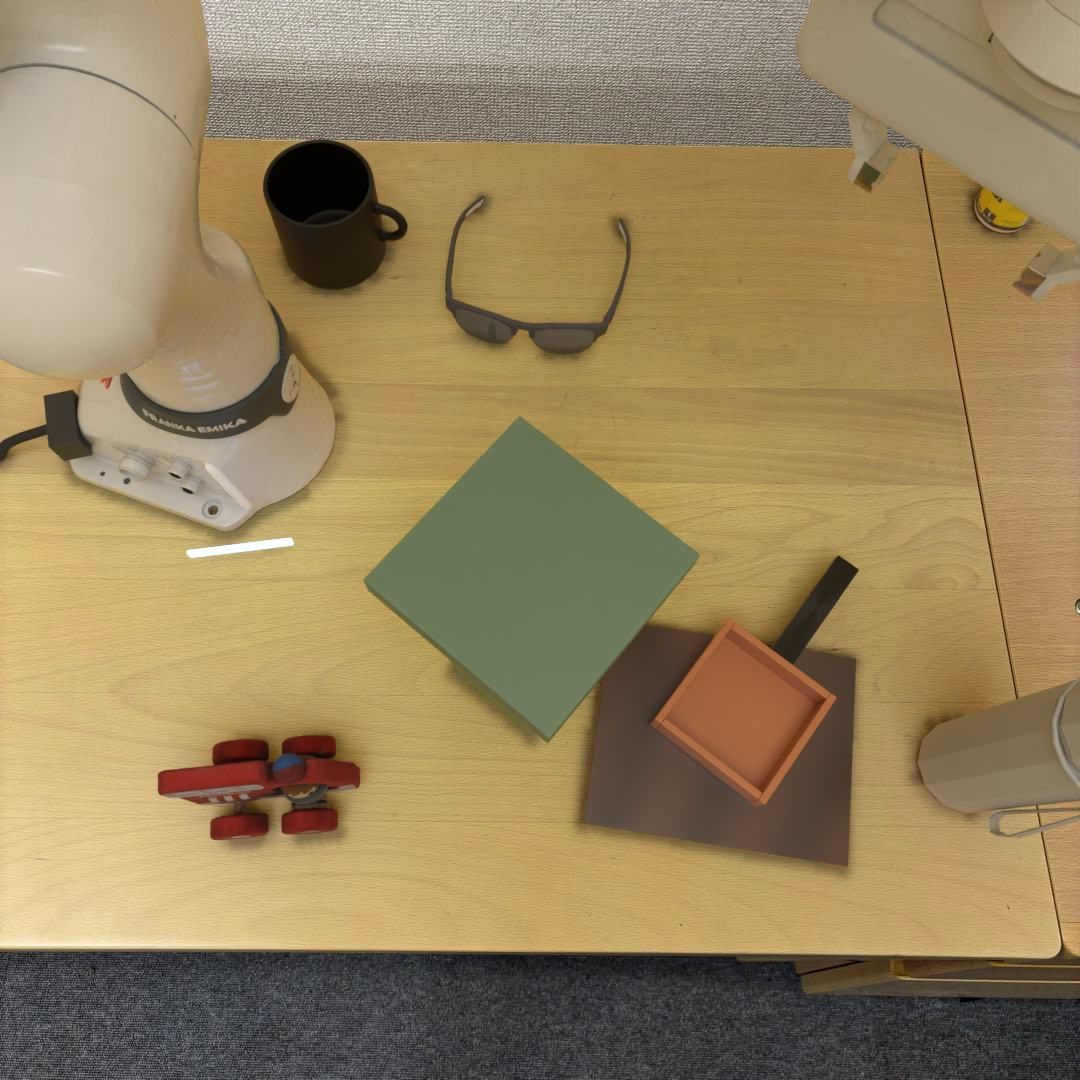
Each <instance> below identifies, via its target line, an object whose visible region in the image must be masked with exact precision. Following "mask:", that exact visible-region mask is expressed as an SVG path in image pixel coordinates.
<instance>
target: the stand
mask: <svg viewBox="0 0 1080 1080" xmlns="http://www.w3.org/2000/svg"><path fill="white" fill-rule="evenodd" d="M700 557H701V554H700V553H699V552H698V551H696V550H695V549H694V548H692V547H691V546H690V545H688V544H687V543H686V542H685V541H683V540H682V539H681V538H679V536H677V535H675V534H674V533H673V532H672V531H670V530H669V529H668V528H666V527H665V525H663V524H661V522H659V521H657V520H656V519H655V518H653V516H651V515H650V514H648V513H647V512H646V511H644V509H642V508H640V507H639V506H638V505H637V504H635V503H634V502H633V501H632V500H631V499H629V498H627V497H626V496H625V495H624V494H622V493H621V492H620V491H618V490H617V489H616V488H615V487H613V486H612V485H611V484H609V483H608V482H607V481H606V480H604V479H603V478H602V477H600V476H599V475H598V474H596V472H594V471H592V470H591V469H590V468H589V467H587V466H586V465H585V464H584V463H582V462H581V461H579V460H578V459H577V458H576V457H574V456H573V455H572V454H570V452H568V451H567V450H565V449H564V448H562V446H560V445H559V444H557V443H556V442H555V441H553V440H552V439H551V438H550V437H549V436H547V435H546V434H544V432H542V431H540V430H539V429H538V428H536V427H535V426H534V425H533V424H531V423H530V422H529V421H527V420H526V419H525V418H524V417H522V416H521V415H519V416H518V417H517V418H516V419H515V420H514V421H513V422H512V423H511V424H510V425H509V426H508V427H507V429H505V431H503V433H502V434H501V435H500V436H499V437H498V438H497V439H496V440H495V441H494V442H493V443H492V444H491V445H490V446H489V447H488V448H487V450H486V451H484V453H482V455H480V456H479V458H478V459H476V461H475V462H474V463H473V464H472V465H471V466H470V467H469V468H468V469H467V470H466V471H465V472H464V473H463V475H461V477H460V478H459V479H458V480H456V482H455V483H454V484H453V485H452V486H451V487H450V488H449V489H448V490H447V491H446V492H445V493H444V494H443V496H442V497H440V499H439V500H438V501H436V503H434V505H433V506H432V507H431V508H430V509H429V510H428V511H427V512H426V513H425V514H424V515H423V517H421V519H420V520H419V521H418V522H417V523H416V524H415V525H414V526H413V527H412V528H411V529H410V530H409V531H408V532H407V533H406V534H405V535H404V536H403V537H402V538H401V539H400V541H398V542H397V543H396V545H395V546H394V547H393V548H392V549H391V550H390V551H389V552H388V553H387V554H386V555H385V556H384V557H383V558H382V559H381V560H380V562H378V563H377V565H376V566H375V567H374V568H373V569H372V570H371V571H370V572H369V573H368V574H367V575H365V577H364V578H363V582H364V585H365V587H366V589H367V590H368V592H369V593H371V594H372V595H373V596H374V597H375V598H376V599H378V601H380V602H381V603H382V604H383V605H384V606H386V607H387V608H388V609H389V610H390V611H392V613H394V615H396V616H397V617H399V618H400V619H401V620H402V621H403V622H405V624H406V625H408V626H409V627H410V628H411V629H412V630H414V632H416V633H418V635H420V636H421V637H422V638H423V639H424V640H426V641H427V642H428V643H429V644H430V645H431V646H433V647H434V648H435V649H436V650H437V651H439V652H440V653H441V654H442V655H443V656H444V657H446V658H447V659H448V660H449V661H450V662H451V663H452V666H453V670H454V672H455V674H457V675H458V676H459V677H460V678H461V679H463V680H464V681H465V682H466V683H467V684H468V685H470V686H471V687H472V688H473V689H474V690H475V691H477V692H478V693H479V694H480V695H482V697H484V698H485V699H486V700H487V701H488V702H490V704H492V705H493V706H494V707H495V708H497V709H498V711H500V712H501V713H502V714H504V715H505V716H506V717H507V718H508V719H509V720H510V721H512V722H513V724H515V725H516V726H517V727H518V728H520V729H521V730H522V731H523V732H525V733H526V734H527V735H528V736H529V737H531V736H532V735H533V734H536V736H538V737H539V738H541V739H542V740H543V742H545V743H546V744H549V743H550V742H551V741H552V739H553V738H554V737H555V735H556V734H557V733H558V732H559V731H560V730H561V728H562V727H563V726H564V725H565V723H566V722H567V721H568V720H569V718H571V716H572V715H573V714H574V712H575V711H576V710H577V709H578V708H579V706H581V704H582V703H583V701H585V700H586V698H587V697H588V695H589V694H590V693H591V692H592V691H593V689H594V688H595V687H596V685H597V684H598V683H600V682H601V678H602V677H603V676H604V675H605V673H606V672H607V671H608V670H609V669H610V667H611V666H612V665H613V664H614V662H615V661H616V660H617V659H618V658H619V656H620V655H621V654H622V653H623V651H624V650H625V649H626V648H627V647H628V645H629V644H630V643H631V642H632V640H633V639H634V638H635V637H636V636H637V634H638V633H639V632H640V631H641V630H642V628H643V627H644V626H645V625H647V624H648V623H649V621H650V620H651V619H652V617H653V616H654V615H655V614H656V612H658V610H659V609H660V608H661V607H662V605H663V604H664V603H665V602H666V600H667V599H668V598H669V597H670V596H671V594H672V593H673V592H674V591H675V589H676V588H677V587H678V586H679V585H680V583H681V582H682V581H683V579H685V577H686V576H687V575H688V573H689V572H691V570H692V569H693V567H694V566H695V565H696V563H697V562H698V560H699V558H700Z"/></svg>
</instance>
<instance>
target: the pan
mask: <svg viewBox="0 0 1080 1080" xmlns="http://www.w3.org/2000/svg"><path fill="white" fill-rule="evenodd" d="M859 571H860V569H859V568H858V567H856V566H855V565H853V564H852V563H850V562H849V561H848V560H846V559H845V558H844V557H843V556H841V555H838V554H837V556H836V557H835V558H833V559H832V561H831V562H830V563H829V565H828V566H827V567H826V569H825V570H824V572H822V575H821V576H820V578H819V579H818V580H817V581H816V583H815V585H814V586H813V587H812V589H811V590H810V591H809V593H808V594H807V595H806V597H805V598H804V600H803V601H802V603H801V604H800V605H799V607H798V608H797V609H796V611H795V613H794V614H793V615H792V617H791V618H790V620H789V621H788V622H787V624H786V625H785V626H784V628H783V629H782V630H781V632H780V634H779V635H778V636H777V638H776V639H775V641H774V642H773V643H772V644H771V645H772V646H771V648H769V647H768V646H766V645H765V644H766V643H764V642H762V641H761V640H760V639H758V638H757V637H756V636H755V635H753V634H752V633H750V632H749V631H747V630H746V629H745V628H744V627H742V626H741V625H739V624H738V623H736V622H735V621H734V620H732V619H731V618H727V619H726V621H725V622H724V623H722V625H721V626H720V627H719V629H718V630H717V632H716V633H715V634H714V635H713V636H714V637H713V638H712V640H711V641H710V642H709V644H708V645H707V646H706V648H705V649H704V650H703V652H702V653H701V654H700V656H699V657H698V659H697V660H696V661H695V663H694V664H693V665H692V667H691V668H690V669H689V671H688V672H687V673H686V675H685V676H684V677H683V679H682V680H681V682H680V683H679V684H678V686H677V687H676V688H675V690H674V691H673V692H672V694H671V695H670V696H669V698H668V699H667V701H666V702H665V703H664V705H663V706H662V707H661V709H660V710H659V711H658V713H657V714H656V715H655V717H654V718H653V719H652V721H651V722H650V724H649V725H650V726H651V727H652V728H654V729H655V730H656V731H657V732H659V733H660V734H661V735H663V736H664V737H665V738H666V739H668V740H669V741H670V742H672V743H673V744H674V745H675V746H677V747H678V748H679V749H681V750H682V751H683V752H684V753H686V754H687V755H688V756H690V757H691V758H692V759H693V760H695V761H696V762H697V763H699V764H700V765H701V766H702V767H704V768H705V769H706V770H708V771H709V772H710V773H711V774H713V775H714V776H715V777H717V778H718V779H719V780H720V781H722V782H723V783H724V784H726V785H727V786H728V787H729V788H731V789H732V790H733V791H735V792H736V793H737V794H738V795H740V796H741V797H742V798H744V799H745V800H746V801H747V802H749V803H750V804H751V805H753V806H754V807H757V806H761V805H765V804H766V803H767V802H768V800H769V799H770V797H771V796H772V794H773V793H774V791H775V790H776V788H777V787H778V785H779V784H780V782H781V781H782V779H783V778H784V776H785V775H786V773H787V772H788V770H789V769H790V767H791V766H792V764H793V763H794V761H795V760H796V758H797V757H798V755H799V754H800V752H801V751H802V749H803V748H804V746H805V745H806V744H807V742H808V741H809V739H810V738H811V736H812V735H813V733H814V732H815V730H816V729H817V727H818V726H819V724H820V723H821V721H822V720H823V718H824V717H825V715H826V714H827V712H828V711H829V709H830V708H831V706H832V705H833V703H834V702H835V700H836V699H837V697H835V696H834V695H833V694H831V693H830V692H829V691H827V690H826V689H825V688H823V687H822V686H821V685H819V684H818V683H817V682H815V681H814V680H812V679H811V678H810V677H808V676H807V675H806V674H804V673H803V672H802V671H800V670H799V669H798V668H796V667H795V666H793V664H794V663H795V661H796V660H797V658H798V657H799V656H800V654H801V653H802V651H803V650H805V649H806V647H807V646H808V644H809V642H810V641H811V640H812V639H813V637H814V636H815V634H816V633H817V631H818V630H819V629H820V627H821V626H822V625H823V623H824V621H825V620H826V618H827V617H828V615H829V614H830V613H831V611H832V610H833V608H834V607H835V606H836V604H837V603H838V601H839V600H840V598H841V597H842V596H843V594H844V593H845V591H846V590H847V588H848V587H849V585H850V584H851V583H852V582H853V580H854V578H855V577H856V576H857V574H858V573H859Z"/></svg>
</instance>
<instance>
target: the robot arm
mask: <svg viewBox="0 0 1080 1080" xmlns="http://www.w3.org/2000/svg"><path fill="white" fill-rule="evenodd" d="M205 20H206V19H205V14H204V9H203V4H202V2H201V0H0V360H2V361H3V362H5V363H7V364H9V365H11V366H13V367H15V368H17V369H20V370H22V371H25V372H28V373H30V374H32V375H37V376H40V377H44V378H48V379H53V380H59V381H72V382H82V383H81V386H80V391H79V394H77V392H76V391H75V390H73V389H69V390H64V391H59V392H55V393H54V392H53V393H48V394H44V395H43V402H44V416H45V424H42V425H39V426H36V427H32V428H30V429H25V430H23V431H20V432H17V433H15V434H13V435H10V436H8V437H6V438H4V439H3V440H1V441H0V462H1V461H3V460H5V459H6V458H7V456H8V454H9V451H10V450H11V449H12V448H14V447H16V446H18V445H21V444H23V443H25V442H28V441H31V440H36V439H38V438H41V437H44V436H47V444H48V445H47V446H48V448H49V449H50V450H51V451H52V452H53V453H54V454H55V455H57V457H59V458H60V459H61V460H62V461H64V462H68V461H69V464H70V466H71V470H72V472H73V473H74V475H75V476H76V477H77V478H78V479H80V480H82V481H83V482H87V483H89V484H91V485H94V486H97V487H100V488H103V489H104V490H108V491H111V492H113V493H116V494H119V495H122V496H124V497H127V498H129V499H133V500H135V501H138V502H141V503H144V504H147V505H149V506H152V507H154V508H157V509H159V510H163V511H166V512H168V513H171V514H173V515H176V516H179V517H181V518H185V519H187V520H191V521H193V522H195V523H198V524H201V525H204V526H207V527H209V528H211V529H214V530H218V531H221V532H225V533H226V532H232V531H235V530H237V529H239V528H240V527H241V526H243V525H244V524H245V523H247V521H248V520H250V519H251V518H252V517H253V516H254V515H255V514H256V513H257V512H259V510H262V509H264V508H265V507H268V506H270V505H273V504H276V503H279V502H280V501H283V500H285V499H287V498H290V497H291V496H293V495H294V494H296V493H297V492H299V491H300V490H302V489H303V488H305V487H306V486H307V485H308V484H310V483H311V482H312V481H313V479H315V477H316V476H317V475H318V474H319V473H320V471H321V470H322V469H323V467H324V465H325V464H326V462H327V460H328V459H329V457H330V454H331V451H332V449H333V446H334V443H335V439H336V428H337V427H336V426H337V425H336V424H337V423H336V415H335V410H334V407H333V404H332V402H331V398H330V397H329V395H328V393H327V391H326V390H325V389H324V387H323V386H322V385H321V384H320V383H319V381H317V379H316V378H315V377H313V376H312V375H311V374H310V372H309V371H308V369H306V367H305V366H304V365H303V364H302V363H301V361H300V360H299V358H298V356H297V354H296V350H295V348H294V345H293V342H292V340H291V337H290V335H289V332H288V330H287V327H286V326H285V324H284V322H283V320H282V318H281V316H280V314H279V312H278V310H277V309H276V307H275V306H274V305H273V304H272V302H270V301H271V300H269V299H267V296H266V294H265V291H264V289H263V287H262V284H261V282H260V279H259V277H258V275H257V272H256V270H255V268H254V266H253V263H252V260H251V258H250V256H249V254H248V252H247V251H246V250H245V248H244V247H243V246H242V244H241V243H239V241H238V240H237V239H235V238H234V237H233V236H232V235H231V234H230V233H228V232H227V231H225V230H223V229H222V228H220V227H217V226H216V225H214V224H210V223H208V222H206V221H203V220H201V219H200V210H199V209H200V208H199V207H200V206H199V205H200V203H199V194H200V180H201V164H202V156H203V150H204V149H203V148H204V142H205V134H206V128H207V122H208V121H207V120H208V113H209V108H210V107H209V106H210V99H211V93H212V71H211V61H210V60H211V59H210V49H209V41H208V35H207V34H208V33H207V27H206V21H205ZM794 46H795V51H796V56H797V60H798V64H799V66H800V70H801V72H802V73H803V74H804V75H805V76H807V77H808V78H810V79H811V80H813V81H814V82H816V83H817V84H819V85H820V86H822V87H824V88H826V89H827V90H829V91H830V92H832V93H834V94H836V95H837V96H838V97H840V98H841V99H843V100H845V101H846V102H848V103H850V104H851V105H853V106H852V108H851V110H850V113H849V115H848V117H847V120H848V126H849V133H850V137H851V138H850V139H851V144H852V145H851V146H852V150H853V154H854V155H855V156H854V159H853V161H852V163H851V165H850V167H849V169H848V171H847V173H846V175H845V179H846V180H847V181H848V182H850V183H852V184H854V185H855V186H856V187H858V188H859V189H861V190H863V191H864V192H866V193H867V194H869V195H871V194H872V193H873V192H874V191H876V188H877V187H878V185H880V184H881V183H882V182H883V181H884V180H885V178H886V177H887V176H888V174H889V173H890V171H891V169H892V167H893V166H892V165H893V164H894V162H896V160H897V158H898V156H899V155H900V153H901V151H902V149H900V148H899V147H898V146H896V145H894V144H893V143H891V142H890V141H889V140H888V139H889V137H888V128H889V129H891V130H892V131H894V132H895V133H897V134H899V135H900V136H902V137H904V138H905V139H907V140H908V141H910V142H911V143H912V144H914V145H916V146H917V147H919V148H921V149H923V150H924V151H925V152H927V153H929V154H930V155H932V156H933V157H935V158H936V159H939V160H940V161H942V162H943V163H945V164H946V165H948V166H949V167H951V168H953V169H954V170H955V171H957V172H958V173H961V174H962V175H963V176H965V177H966V178H969V180H972V181H973V182H975V183H977V184H978V185H979V186H981V187H982V188H983V187H984V188H986V189H988V190H989V191H991V192H992V193H994V194H995V195H997V196H999V197H1000V198H1002V199H1003V200H1005V201H1007V202H1008V203H1010V204H1011V205H1013V206H1014V207H1016V208H1018V209H1019V210H1021V211H1022V212H1024V213H1026V214H1027V215H1029V216H1030V217H1032V218H1031V219H1034V220H1035V221H1036V222H1038V223H1040V224H1042V225H1043V226H1045V227H1046V228H1047V229H1049V230H1051V231H1053V232H1054V233H1056V234H1057V235H1059V236H1060V237H1062V238H1064V239H1065V240H1066V241H1069V242H1070V243H1071V244H1073V245H1075V246H1074V247H1072V248H1068V249H1065V250H1063V251H1062V250H1061V249H1059V248H1057V247H1056V246H1054V245H1052V244H1050V243H1049V242H1045V244H1044V246H1042V248H1041V249H1040V250H1039V251H1038V252H1037V253H1036V255H1034V257H1033V258H1032V259H1031V260H1030V261H1029V263H1028V264H1027V265H1026V266H1025V268H1024V269H1023V270H1022V271H1021V273H1019V275H1018V276H1017V278H1016V279H1014V281H1013V283H1012V284H1011V287H1013V288H1014V289H1015V290H1017V291H1018V292H1020V293H1021V294H1023V295H1024V296H1025V297H1027V298H1029V299H1030V300H1032V301H1033V302H1035V303H1037V304H1039V303H1040V302H1041V301H1042V300H1043V299H1044V298H1045V297H1046V296H1047V294H1048V293H1050V291H1051V290H1052V289H1053V288H1054V287H1055V286H1056V285H1057V286H1062V285H1063V286H1064V285H1067V284H1072V283H1077V282H1080V0H812V2H811V4H810V6H809V8H808V10H807V13H806V15H805V17H804V18H803V21H802V24H801V26H800V28H799V30H798V34H797V36H796V39H795V45H794ZM215 509H216V510H217V512H216V513H215V514H211V512H212V511H213V510H215ZM289 546H294V541H293V538H292V537H285V538H277V539H269V540H261V541H251V542H244V543H236V544H228V545H227V544H226V545H221V546H220V545H219V546H212V547H205V548H203V547H202V548H196V549H188V550H186V555H187V556H188V557H189V558H191V559H193V558H200V557H207V556H208V557H209V556H217V555H226V554H234V553H242V552H249V551H258V550H265V549H266V550H267V549H274V548H282V547H289Z"/></svg>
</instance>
